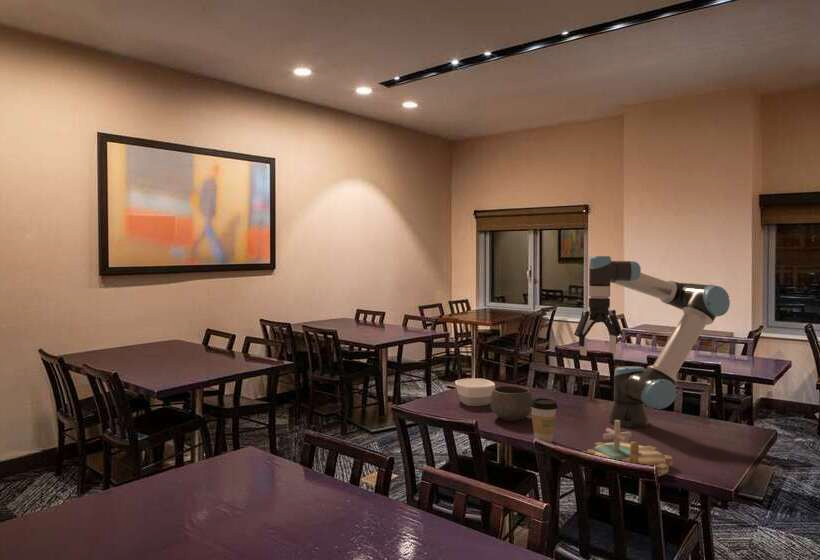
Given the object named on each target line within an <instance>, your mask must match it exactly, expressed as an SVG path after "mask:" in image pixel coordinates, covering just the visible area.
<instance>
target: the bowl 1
mask: <svg viewBox="0 0 820 560" xmlns="http://www.w3.org/2000/svg"><path fill="white" fill-rule="evenodd" d="M454 385H455V388H456V391H457V394H458V396H459V400H460V402H461V403H462V404H463V405H465V406H468V407H481V406H487V405H490V397H491V394H492V391H493V390H494V388H495V387H496V384H495V382H494V381H493V380H492V381H491V380H489V379H486V378H473V377H472V378H462V379H457V380H455V381H454Z"/></svg>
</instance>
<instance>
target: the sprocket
mask: <svg viewBox="0 0 820 560" xmlns="http://www.w3.org/2000/svg"><path fill="white" fill-rule="evenodd" d="M587 453H590V454H594V455H598V456H602V457H606V458H612V459H616V460H622V461H627V462H632V463H640V464H647V465H655V466H656V468H657V472H658V473H660V474H664V473H667V472H668V473H669V471H668V465H669V466H673V457H672V456H671V455H669V454H663V453H662V452H660V451H658V447H656V446H652V445H646V446H645V445H640V443H639V441H635V440H634V441H632V440H631V441H630V442H629V441H628V442H627V443H625V442H623V441H621V440H620V451H615V450H614V442H601V441H597V442H594V443H593V447H592V448H591V449H589V448H587ZM668 473H667V474H668Z"/></svg>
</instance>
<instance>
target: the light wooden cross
mask: <svg viewBox="0 0 820 560" xmlns="http://www.w3.org/2000/svg"><path fill="white" fill-rule="evenodd" d="M613 425H614V429H612V428H609V427H607V428H606V429H605V433H603V434H602V435H601V436H602V440H612V439H613V443H614V450H615V451H620V441H623V442H625V443H627V442H628V443H629V441H630V439H629V438H631V437H632V432H631V431H623V432H621V426H620V420H615V423H614V424H613Z"/></svg>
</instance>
